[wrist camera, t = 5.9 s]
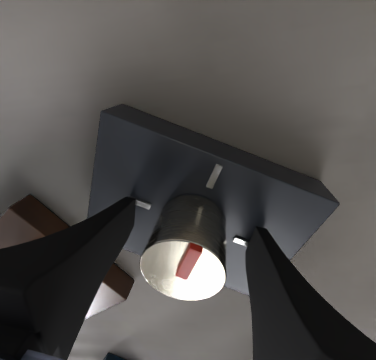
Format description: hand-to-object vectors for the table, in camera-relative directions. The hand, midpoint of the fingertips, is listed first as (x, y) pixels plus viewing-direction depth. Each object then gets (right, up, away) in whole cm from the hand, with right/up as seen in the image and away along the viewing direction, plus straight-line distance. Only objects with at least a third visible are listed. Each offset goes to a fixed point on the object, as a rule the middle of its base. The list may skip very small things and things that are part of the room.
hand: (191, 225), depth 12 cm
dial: (0, 0, 0) cm, 0 cm away
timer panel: (0, +1, +2) cm, 3 cm away
